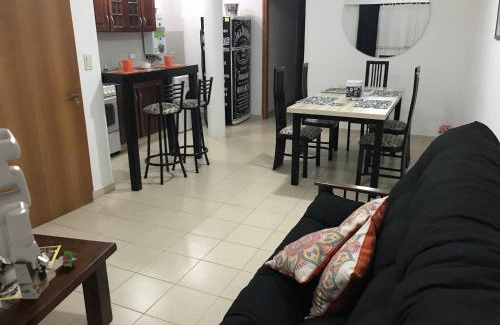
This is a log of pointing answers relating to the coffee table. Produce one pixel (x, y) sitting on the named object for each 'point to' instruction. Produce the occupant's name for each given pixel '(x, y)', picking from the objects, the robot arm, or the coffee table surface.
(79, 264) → the coffee table surface
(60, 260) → the geometric puzzle
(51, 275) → the letter block
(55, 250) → the coffee table surface
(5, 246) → the robot arm
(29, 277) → the coffee box
